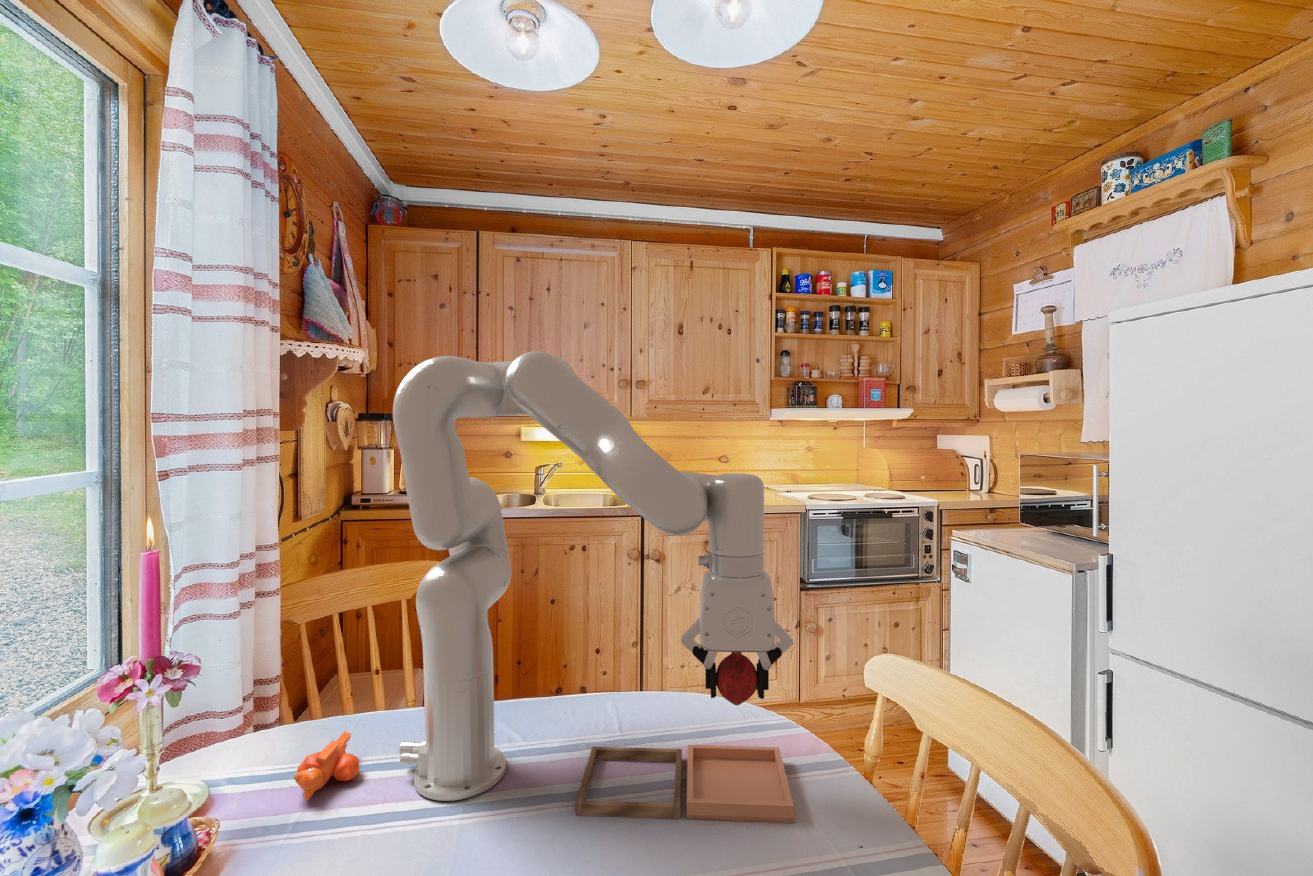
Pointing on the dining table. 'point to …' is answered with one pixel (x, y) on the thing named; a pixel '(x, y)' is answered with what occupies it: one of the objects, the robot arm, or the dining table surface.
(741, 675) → the onion
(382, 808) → the dining table surface
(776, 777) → the terracotta tray
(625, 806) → the walnut frame
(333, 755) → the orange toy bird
